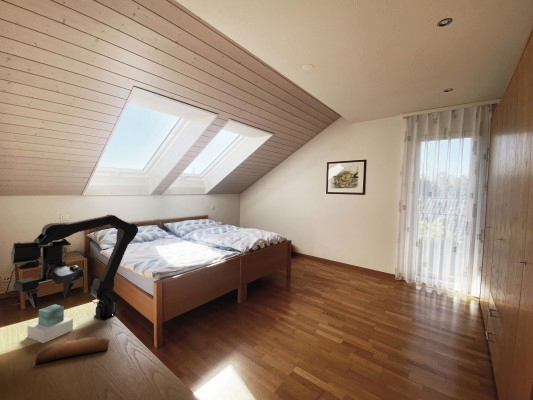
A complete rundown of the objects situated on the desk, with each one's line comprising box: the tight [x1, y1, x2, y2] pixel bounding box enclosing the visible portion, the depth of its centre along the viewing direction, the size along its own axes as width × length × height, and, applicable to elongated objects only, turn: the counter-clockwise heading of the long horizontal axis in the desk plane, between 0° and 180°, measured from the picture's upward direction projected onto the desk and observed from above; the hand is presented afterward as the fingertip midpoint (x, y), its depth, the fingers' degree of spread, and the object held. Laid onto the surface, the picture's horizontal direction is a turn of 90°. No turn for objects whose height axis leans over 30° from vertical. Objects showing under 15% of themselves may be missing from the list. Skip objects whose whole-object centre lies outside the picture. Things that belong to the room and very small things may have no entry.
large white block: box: [27, 316, 74, 344], centre depth 87 cm, size 9×9×4 cm
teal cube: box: [37, 303, 65, 327], centre depth 87 cm, size 5×5×5 cm
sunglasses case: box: [34, 336, 111, 365], centre depth 78 cm, size 18×7×7 cm, turn 115°
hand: (51, 302), depth 87 cm, fingers open, 9 cm apart
